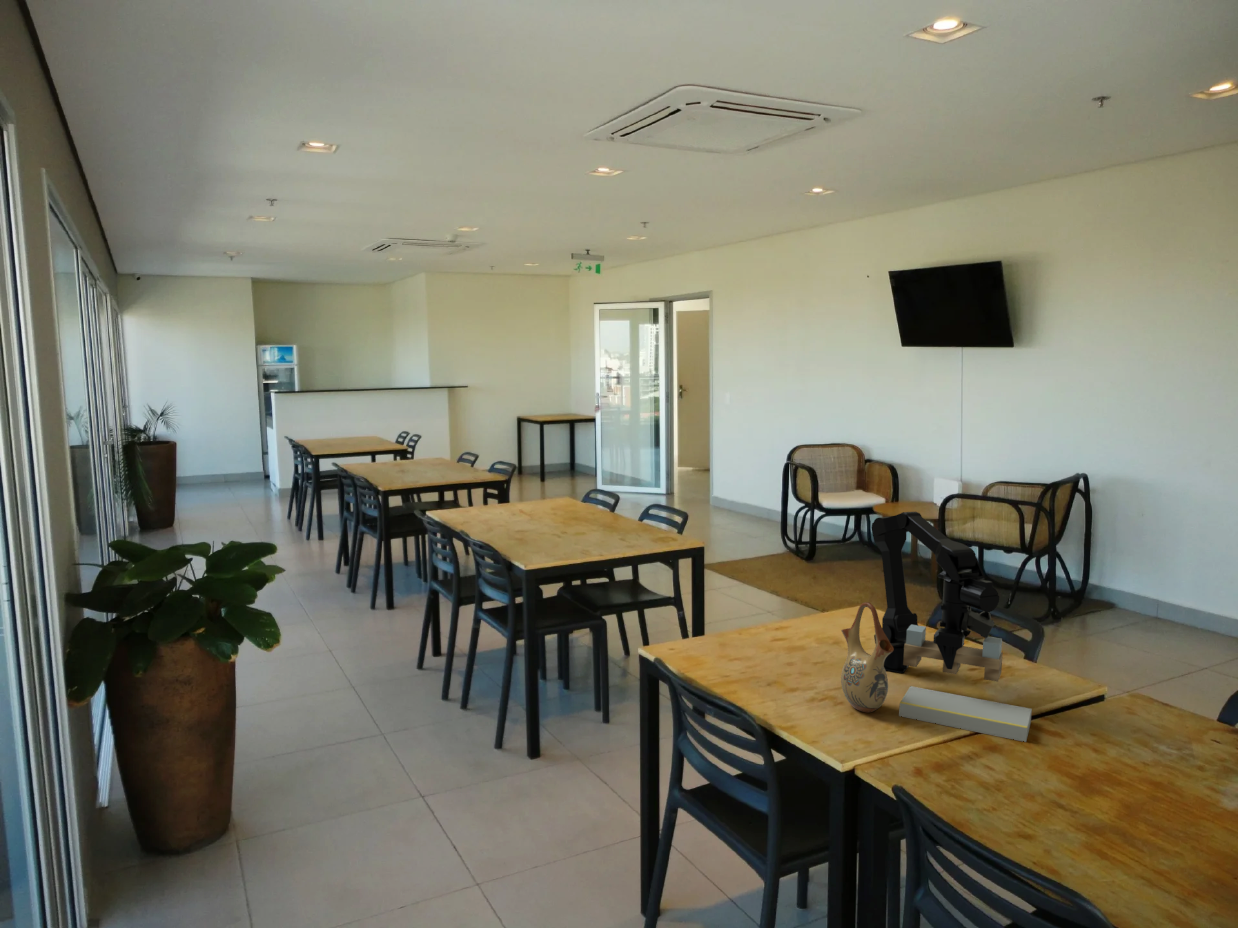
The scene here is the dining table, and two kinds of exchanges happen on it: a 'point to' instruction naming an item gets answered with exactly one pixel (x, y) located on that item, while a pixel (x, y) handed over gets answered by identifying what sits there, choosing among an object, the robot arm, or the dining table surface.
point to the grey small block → (916, 635)
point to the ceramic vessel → (865, 666)
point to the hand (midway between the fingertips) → (951, 664)
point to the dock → (966, 713)
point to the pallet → (962, 657)
